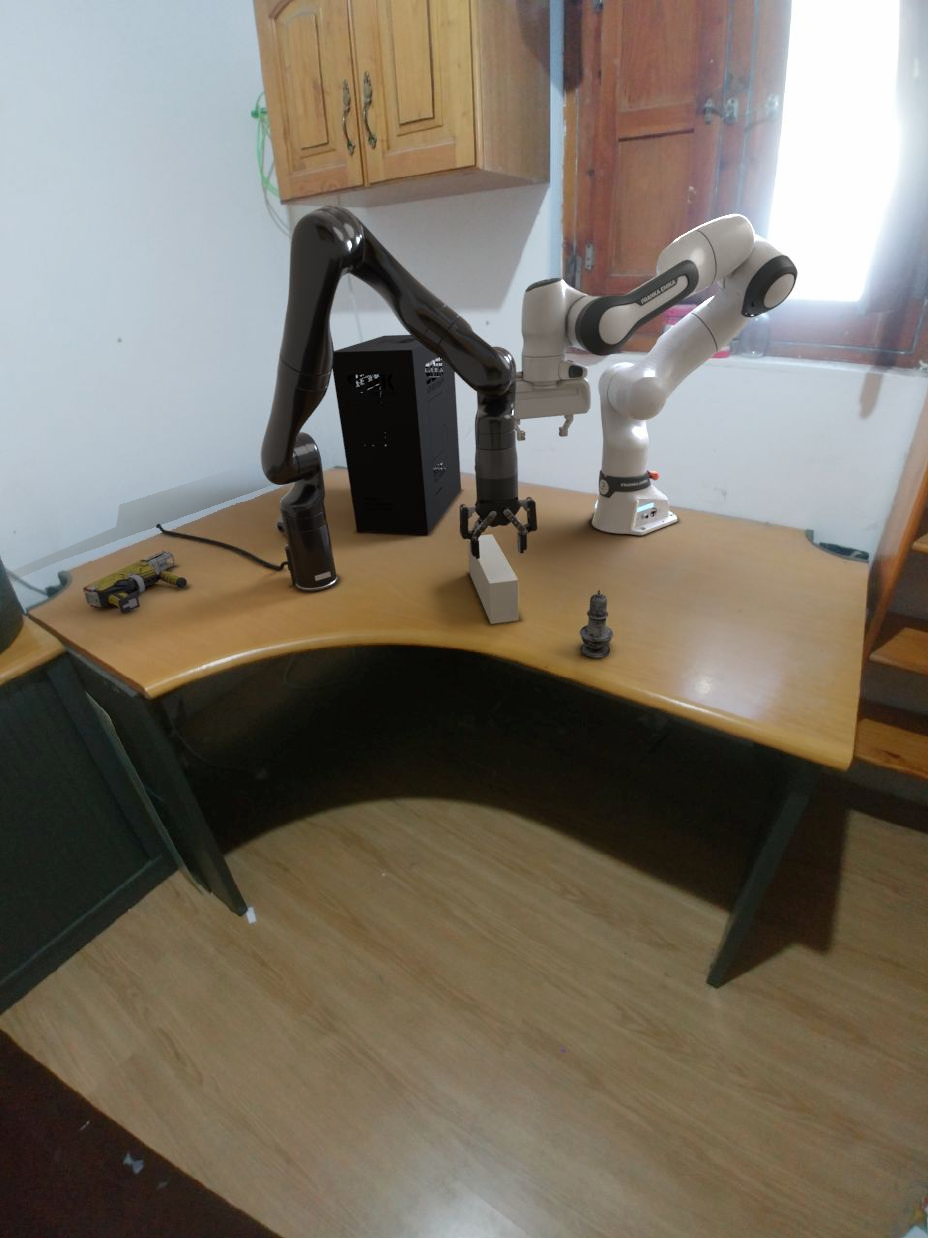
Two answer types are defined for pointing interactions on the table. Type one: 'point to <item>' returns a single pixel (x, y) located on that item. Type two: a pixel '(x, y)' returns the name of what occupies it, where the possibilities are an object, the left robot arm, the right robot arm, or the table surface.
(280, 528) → the eyeball
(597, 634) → the dark grey chess piece
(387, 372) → the cardboard box
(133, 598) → the toy gun
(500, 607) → the bar
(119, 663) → the table surface
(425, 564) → the table surface
